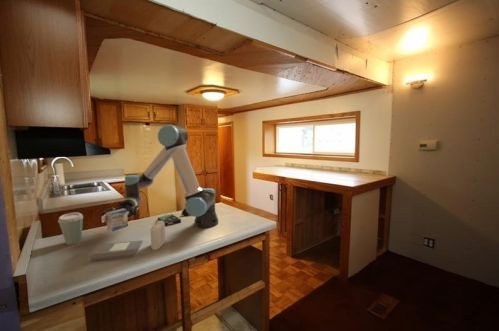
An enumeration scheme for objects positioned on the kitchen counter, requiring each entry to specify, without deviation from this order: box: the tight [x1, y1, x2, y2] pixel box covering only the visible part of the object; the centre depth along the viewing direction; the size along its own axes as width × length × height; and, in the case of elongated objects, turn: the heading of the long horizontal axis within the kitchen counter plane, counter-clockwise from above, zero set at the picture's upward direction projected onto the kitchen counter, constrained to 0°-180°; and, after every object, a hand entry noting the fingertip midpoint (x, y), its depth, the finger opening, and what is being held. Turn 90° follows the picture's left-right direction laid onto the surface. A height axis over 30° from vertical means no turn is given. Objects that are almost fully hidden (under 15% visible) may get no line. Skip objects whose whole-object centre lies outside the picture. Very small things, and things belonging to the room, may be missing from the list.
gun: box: [180, 208, 189, 217], centre depth 167 cm, size 3×16×10 cm, turn 128°
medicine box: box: [106, 209, 129, 232], centre depth 110 cm, size 8×4×9 cm, turn 149°
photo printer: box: [150, 220, 166, 251], centre depth 116 cm, size 10×4×12 cm, turn 179°
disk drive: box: [157, 213, 182, 227], centre depth 151 cm, size 10×3×15 cm
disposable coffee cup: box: [57, 212, 84, 246], centre depth 120 cm, size 11×11×15 cm
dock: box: [90, 240, 143, 262], centre depth 111 cm, size 18×15×3 cm
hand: (113, 219), depth 105 cm, fingers closed on medicine box, 8 cm apart
